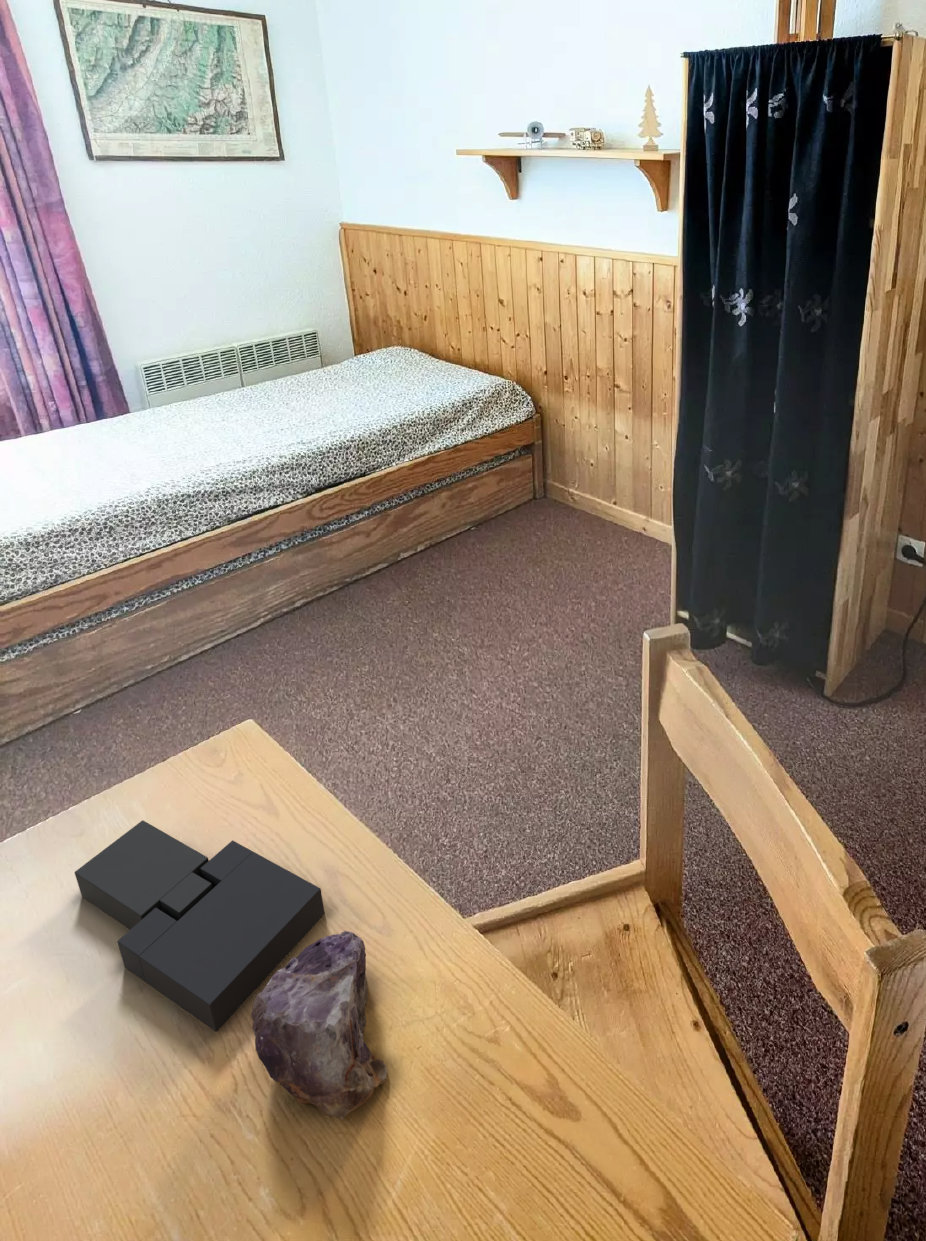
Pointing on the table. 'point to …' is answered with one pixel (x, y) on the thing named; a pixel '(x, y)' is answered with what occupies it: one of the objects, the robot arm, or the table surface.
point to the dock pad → (224, 935)
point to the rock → (319, 1027)
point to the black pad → (144, 876)
